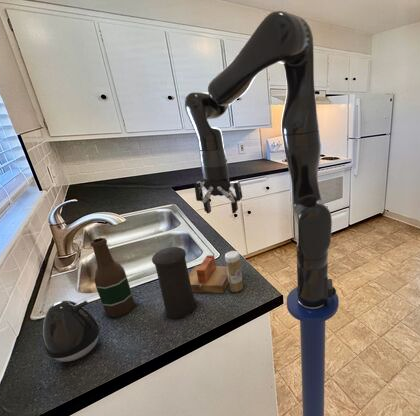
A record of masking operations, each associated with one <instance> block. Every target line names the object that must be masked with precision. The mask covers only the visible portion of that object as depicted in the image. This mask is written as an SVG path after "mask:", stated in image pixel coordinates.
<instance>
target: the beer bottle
mask: <svg viewBox="0 0 420 416" xmlns="http://www.w3.org/2000/svg"><path fill="white" fill-rule="evenodd" d="M90 247H91V248H92V249H93V252H94V253H93V254H94V256H95V257H94V258H95V262H96V266H97V267H96V269H95V271H94V285H95V288H96V291H97V294H98V296H99V299H100V301H101V304H102V307H103V310H104V312H105V314H106V317H112V318H118V317H121V316H124V315H126V314H128V313H130V312H131V310H133V309H134V308H135V301H134V300H135V299H134V296H133V292H132V288H131V286H130V283H129V280H128V277H127V273H126V270H125V268H124V267H123V265H121V263H118V262H117V261H116V260H115V259H114V257H113V256H112V253H111V251H110V248H109V246H108V240H107V238H105V237H98V238H95V239H92V240H91V242H90Z"/></svg>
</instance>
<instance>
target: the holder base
mask: <svg viewBox="0 0 420 416" xmlns="http://www.w3.org/2000/svg"><path fill="white" fill-rule="evenodd" d="M199 266H200V265H195V266H193V268H192V269H191V271H190V272H188V274H189V278H190V283H191V287H192V292H193V293H211V294H212V293H215V294H217V293H219V294H223V293H224V292H225V290H226V288H227V286H228V285H229V280H228V273H227V265H226V266H224V265H221V266H220V265H216V269H215V270H214V272H213V273H212V275H211V276H210V278H209V280H208V281H207V283H199V281H198V276H197V271H196V270H197V269H198V267H199Z"/></svg>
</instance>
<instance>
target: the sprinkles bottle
mask: <svg viewBox="0 0 420 416" xmlns="http://www.w3.org/2000/svg"><path fill="white" fill-rule="evenodd" d="M240 259H241V255H240V252H239V251H237V250H229V251H228V252H226V253H225V254H224V261H225V263H226V266H227V273H228V280H229V283H228V285H229V291H230V292H233V293H237V292H240V291H242V290H243V289H244V285H243V274H242V268H241V260H240Z"/></svg>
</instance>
